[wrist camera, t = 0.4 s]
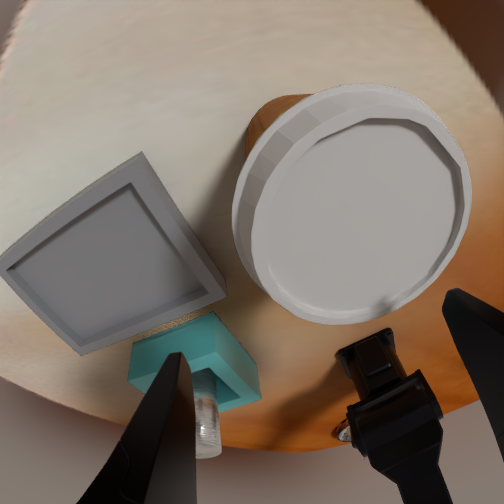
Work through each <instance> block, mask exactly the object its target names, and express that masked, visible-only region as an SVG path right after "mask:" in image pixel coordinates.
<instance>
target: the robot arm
mask: <svg viewBox="0 0 504 504" xmlns="http://www.w3.org/2000/svg"><path fill="white" fill-rule="evenodd" d="M442 313H443V316H444V318H445V320H446V323H447V325H448V328H449V330H450V333H451V335H452V338H453V340H454V343H455V345H456V348H457V350H458V352H459V354H460V356H461V358H462V360H463V362H464V365H465V367H466V369H467V371H468V373H469V375H470V377H471V379H472V382H473V384H474V386H475V388H476V391H477V393H478V395H479V397H480V400H481V402H482V404H483V407H484V409H485V412H486V414H487V416H488V419H489V422H490V424H491V427H492V429H493V432H494V435H495V437H496V441H497V443H498V446H499V449H500V452H501V455H502V458H503V461H504V313H503V312H502V311H500V310H498V309H496V308H494V307H493V306H491V305H489V304H487V303H485V302H484V301H482V300H480V299H478V298H476V297H474V296H472V295H471V294H469V293H467V292H465V291H463V290H461V289H459V288H454V289H451V290H448V291H447V293H446V296H445V299H444V303H443V306H442ZM338 354H339V357H340V359H341V362H342V364H343V366H344V369H345V371H346V373H347V376H348V378H349V379H351V378H352V380H353V382H354V385H355V388H356V390H357V393H358V395H359V398H360V401H359V402H357V403H355V404H353V405H349V406H347V410H348V412H347V413H346V416H347V419H348V422H349V426H350V434H351V443H352V446H353V448H356V449H358V450H359V451H360V452H361V454H362V455H363V457H367V456H368V458H369V461H370V464H371V466H372V467H373V468H374V469H376V470H377V471H378V472H380V473H381V474H383V475H384V476H386V477H387V478H389V479H390V480H391V481H393V482H394V483H396V484H397V486H398V488H399V491H400V494H401V497H402V500H403V503H404V504H453V502H452V500H451V497H450V494H449V491H448V489H447V486H446V484H445V481H444V478H443V476H442V473H441V470H440V468H439V465H438V463H439V457H440V452H441V446H442V439H443V429H442V427H441V425H440V422H439V420H441V419H442V418H443V413H442V410H441V408H440V405H439V403H438V401H437V399H436V397H435V395H434V393H433V391H432V390H431V388H430V386H429V384H428V383H427V381H426V379H425V378H424V376H423V374H422V373H421V371H420V369H418V370H416V371H415V372H414V373H413V374H411V375H409V376H407V374H406V372H405V370H404V368H403V366H402V364H401V362H400V360H399V358H398V356H397V354H396V350H395V343H394V336H393V331H392V329H391V328H387V329H385V330H383V331H381V332H379V333H377V334H375V335H372V336H370V337H368V338H366V339H364V340H362V341H360V342H357V343H355V344H353V345H351V346H348V347H346V348H344V349H342V350H340V351H339V352H338ZM196 494H197V493H196V412H195V402H194V393H193V384H192V374H191V369H190V366H189V364H188V362H187V360H186V358H185V356H184V354H183V353H182V352H172V353H169V354H168V356H167V357H166V359H165V361H164V363H163V364H162V366H161V368H160V370H159V371H158V373H157V375H156V376H155V378H154V380H153V382H152V383H151V385H150V387H149V389H148V390H147V392H146V394H145V396H144V397H143V399H142V401H141V403H140V404H139V406H138V408H137V410H136V411H135V413H134V415H133V417H132V418H131V420H130V422H129V424H128V425H127V427H126V429H125V431H124V433H123V434H122V436H121V438H120V440H119V441H118V443H117V445H116V447H115V448H114V450H113V452H112V453H111V455H110V457H109V459H108V460H107V462H106V463H105V465H104V466H103V468H102V469H101V471H100V472H99V474H98V475H97V476H96V478H95V479H94V481H93V482H92V483H91V485H90V486H89V487H88V489H87V490H86V492H85V493H84V494H83V496H82V497H81V498H80V500H79V501H78V502H77V503H76V504H197V495H196Z"/></svg>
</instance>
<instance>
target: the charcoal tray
mask: <svg viewBox="0 0 504 504" xmlns="http://www.w3.org/2000/svg"><path fill="white" fill-rule="evenodd" d="M0 276H1V277H2V278H3V279H4V280H5V281H6V283H7V284H8V285H9V286H10V287H11V288H12V289H13V290H14V292H15V293H16V294H17V295H18V296H19V297H20V298H21V299H22V300H23V301H24V302H25V303H26V304H27V306H28V307H29V308H30V309H31V310H32V311H33V312H34V313H35V314H36V315H37V316H38V317H39V318H40V319H41V320H42V321H43V322H44V323H45V324H46V325H47V326H48V327H49V328H51V329H52V330H53V331H54V332H55V333H56V334H57V335H58V336H59V337H60V338H61V339H62V340H63V341H65V342H66V343H67V344H68V345H69V346H70V347H71V348H72V349H73V350H75V351H76V352H77V353H78V354H79V355H80V356H83V355H85V354H88V353H90V352H93V351H96V350H98V349H101V348H103V347H106V346H109V345H111V344H114V343H116V342H119V341H121V340H124V339H126V338H129V337H131V336H134V335H136V334H139V333H142V332H144V331H146V330H149V329H151V328H154V327H156V326H159V325H161V324H164V323H166V322H169V321H171V320H174V319H176V318H178V317H181V316H183V315H186V314H188V313H191V312H193V311H195V310H198V309H200V308H203V307H205V306H207V305H210V304H212V303H214V302H217V301H219V300H222V299H224V298H226V297H227V289H226V280H225V279H224V277H223V276H222V274H221V273H220V271H219V270H218V268H217V267H216V265H215V264H214V262H213V261H212V259H211V258H210V256H209V255H208V253H207V252H206V250H205V249H204V247H203V246H202V244H201V243H200V241H199V240H198V238H197V237H196V235H195V234H194V232H193V231H192V229H191V228H190V226H189V225H188V223H187V221H186V220H185V218H184V217H183V215H182V214H181V212H180V211H179V209H178V208H177V206H176V204H175V203H174V201H173V200H172V198H171V197H170V195H169V194H168V192H167V190H166V189H165V187H164V186H163V184H162V183H161V181H160V179H159V178H158V176H157V175H156V173H155V171H154V170H153V168H152V167H151V165H150V163H149V162H148V160H147V159H146V157H145V155H144V154H143V152H142V151H141V152H140V153H138V154H136V155H135V156H133V157H132V158H130V159H128V160H127V161H125V162H124V163H122V164H120V165H119V166H117V167H116V168H114V169H113V170H111V171H110V172H108V173H107V174H105V175H104V176H102V177H101V178H99V179H98V180H96V181H95V182H93V183H92V184H90V185H89V186H87V187H86V188H84V189H83V190H82V191H80V192H79V193H77V194H76V195H75V196H73V197H72V198H70V199H69V200H68V201H66V202H65V203H64V204H62V205H61V206H60V207H58V208H57V209H56V210H54V211H53V212H52V213H50V214H49V215H48V216H47V217H45V218H44V219H43V220H42V221H40V222H39V223H38V224H37V225H35V226H34V227H33V228H32V229H30V230H29V231H28V232H27V233H26V234H24V235H23V236H22V237H21V238H20V239H18V240H17V241H16V242H15V243H14V244H13V245H11V246H10V247H9V248H8V249H7V250H6V251H5V252H3V254H2V255H1V256H0Z"/></svg>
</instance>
